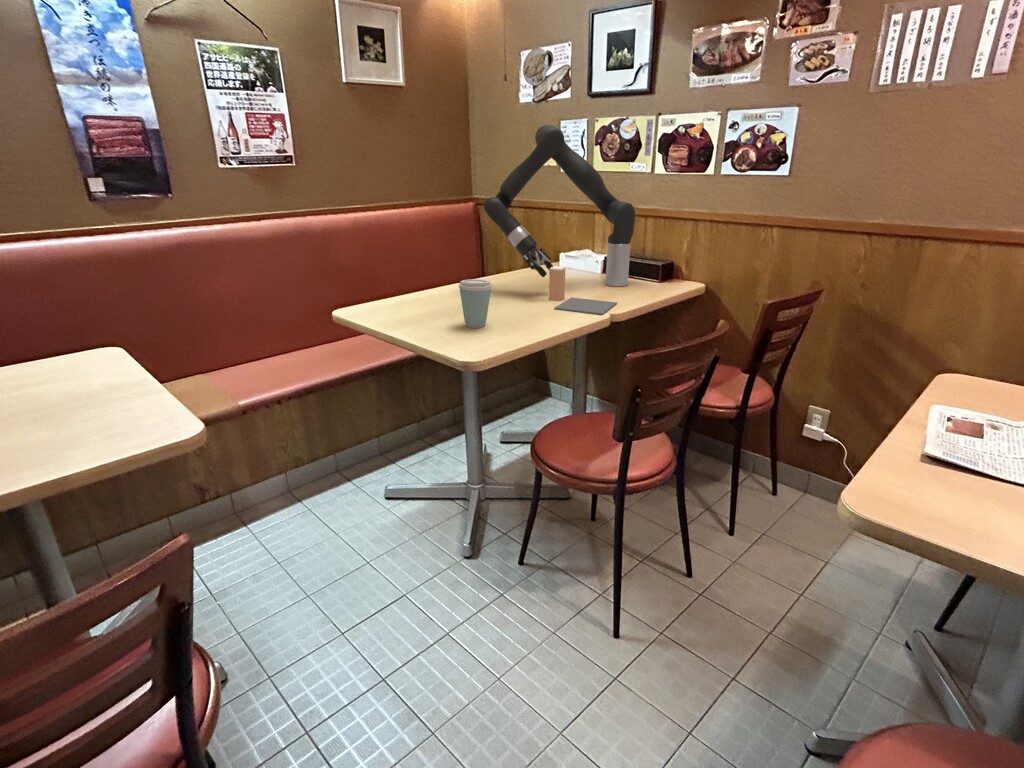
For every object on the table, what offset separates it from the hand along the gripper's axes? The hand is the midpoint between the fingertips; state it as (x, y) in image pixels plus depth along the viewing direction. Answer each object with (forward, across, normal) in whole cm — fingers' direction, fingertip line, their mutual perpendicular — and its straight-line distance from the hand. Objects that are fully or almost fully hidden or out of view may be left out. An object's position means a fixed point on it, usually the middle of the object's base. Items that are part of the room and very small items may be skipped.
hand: (549, 273), depth 222 cm
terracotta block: (+9, 0, +4) cm, 10 cm away
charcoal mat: (+19, -6, -6) cm, 20 cm away
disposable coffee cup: (+2, -44, +11) cm, 46 cm away
